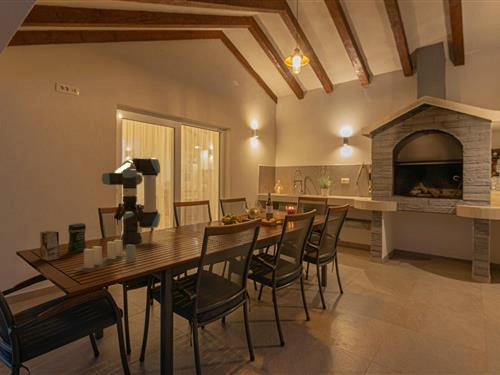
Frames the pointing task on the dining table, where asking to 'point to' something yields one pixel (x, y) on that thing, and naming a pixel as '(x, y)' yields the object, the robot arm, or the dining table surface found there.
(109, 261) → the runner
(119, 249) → the domino
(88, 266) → the domino
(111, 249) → the domino
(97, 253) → the domino
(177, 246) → the dining table surface
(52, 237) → the coffee box
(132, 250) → the domino
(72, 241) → the coffee jar
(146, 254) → the dining table surface
